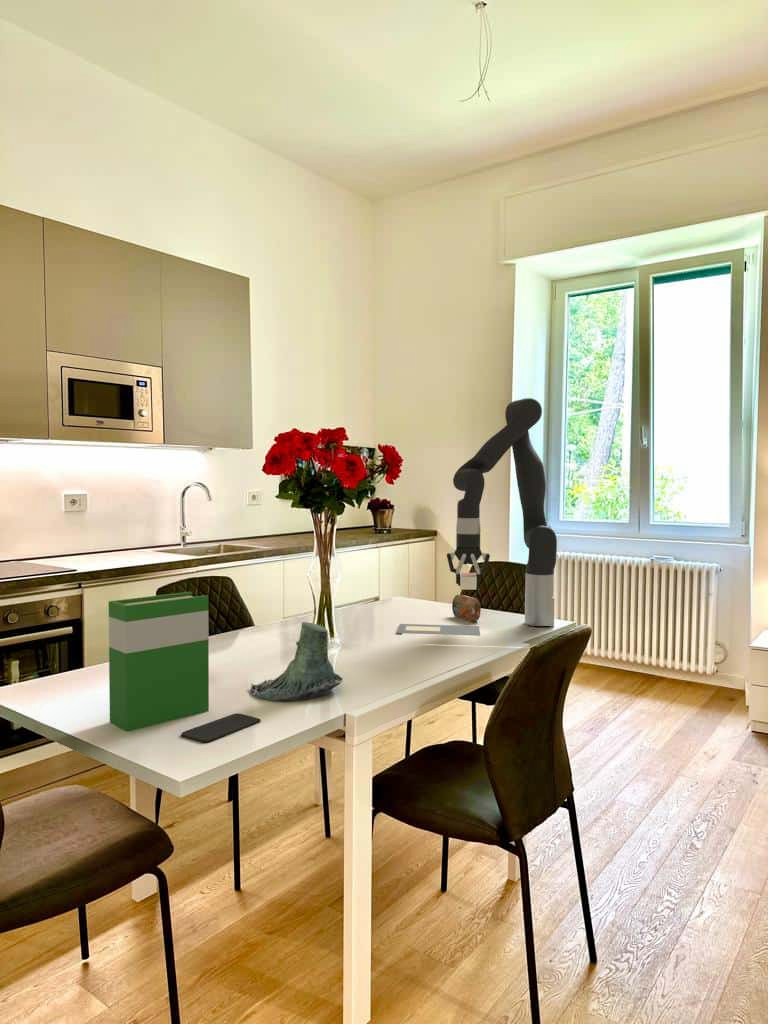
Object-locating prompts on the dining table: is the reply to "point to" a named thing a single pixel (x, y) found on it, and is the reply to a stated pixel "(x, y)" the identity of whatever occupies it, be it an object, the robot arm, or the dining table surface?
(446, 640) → the dining table surface
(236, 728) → the phone
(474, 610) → the tin
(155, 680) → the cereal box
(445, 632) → the mat
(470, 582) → the card deck
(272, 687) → the tree stump
